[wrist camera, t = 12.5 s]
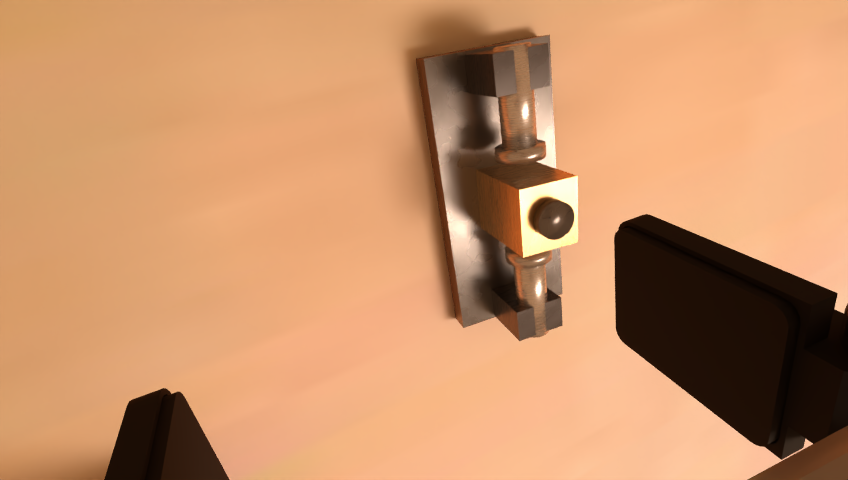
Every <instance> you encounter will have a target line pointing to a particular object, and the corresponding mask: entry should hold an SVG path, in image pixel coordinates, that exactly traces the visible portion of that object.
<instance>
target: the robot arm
mask: <svg viewBox="0 0 848 480" xmlns="http://www.w3.org/2000/svg"><path fill="white" fill-rule="evenodd" d="M614 244H615V302H616V331H617V334H618V336H619V338H620V339H621V340H622V341H623V342H624V343H625V344H626V345H627V346H628V347H630V348H631V349H632V350H634V351H635V352H636V353H637V354H639V355H640V356H641V357H643V358H644V359H645V360H646V361H648V362H649V363H650V364H652V365H653V366H654V367H655V368H657V369H658V370H659V371H661V372H662V373H663V374H664V375H666V376H667V377H668V378H670V379H671V380H672V381H673V382H675V383H676V384H677V385H678V386H680V387H681V388H682V389H684V390H685V391H686V392H687V393H689V394H690V395H691V396H693V397H694V398H695V399H696V400H698V401H699V402H700V403H702V404H703V405H704V406H705V407H707V408H708V409H709V410H711V411H712V412H713V413H714V414H716V415H717V416H718V417H720V418H721V419H722V420H723V421H725V422H726V423H727V424H729V425H730V426H731V427H732V428H734V429H735V430H736V431H738V432H739V433H740V434H741V435H743V436H744V437H745V438H747V439H748V440H749V441H750V442H752V443H754V444H755V445H758V446H764V447H766V448H767V449H768V450H770V451H771V452H772V453H773V454H775V455H776V456H777V457H779V458H780V459H781V460H782V459H784V458H785V457H787V456H789V455H791V454H793V453H794V452H796V451H798V450H800V449H802V448H803V446H804V442H805V438H806V439H807V440H809V441H810V442H812V443H813V445H811V446H809V447H807V448H805V449H803V450H802V451H800V452H798V453H796V454H794V455H792V456H790V457H789V458H787V459H785V460H783V461H781V462H779V463H778V464H776V465H774V466H772V467H770V468H768V469H766V470H765V471H763V472H761V473H759V474H757V475H755V476H753V477H752V478H750V479H748V480H848V304H847V306H846V308H845V312H844V314H843V313H841V312H839V311H837V310H834V307H835V303H836V298H837V294H838V293H836V292H833V291H831V290H828V289H826V288H824V287H821V286H819V285H816V284H814V283H812V282H809V281H807V280H804V279H802V278H800V277H797V276H795V275H793V274H790V273H788V272H785V271H783V270H781V269H778V268H776V267H773V266H771V265H769V264H766V263H764V262H761V261H759V260H757V259H754V258H752V257H749V256H747V255H745V254H742V253H740V252H738V251H735V250H733V249H730V248H728V247H726V246H723V245H721V244H718V243H716V242H714V241H711V240H709V239H706V238H704V237H702V236H699V235H697V234H694V233H692V232H690V231H687V230H685V229H682V228H680V227H678V226H675V225H673V224H671V223H668V222H666V221H663V220H661V219H659V218H656V217H654V216H651V215H647V214H646V215H642V216H639V217H636V218H633V219H630V220H628V221H625V222H623V223H622V224H620V227H619V230H618V231H617V232H616V234H615V238H614ZM104 480H229V478H228V476H227V474H226V473H225V471H224V469H223V467H222V465H221V463H220V461H219V460H218V458H217V456H216V454H215V452H214V450H213V449H212V447H211V445H210V443H209V441H208V439H207V438H206V436H205V434H204V432H203V430H202V428H201V426H200V425H199V423H198V421H197V419H196V417H195V415H194V414H193V412H192V410H191V408H190V406H189V404H188V403H187V401H186V399H185V397H184V396H183V394H182V393H181V392H176V393H173V394H171V393H170V391H168V390H167V389H165V388H163V389H160V390H158V391H155V392H152V393H149V394H147V395H144V396H141V397H138V398H136V399H133V400H131V401H129V403H128V405H127V408H126V411H125V414H124V418H123V421H122V424H121V427H120V431H119V434H118V437H117V440H116V444H115V447H114V450H113V453H112V457H111V460H110V463H109V466H108V470H107V473H106V476H105V479H104Z"/></svg>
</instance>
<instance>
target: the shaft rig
mask: <svg viewBox="0 0 848 480" xmlns="http://www.w3.org/2000/svg"><path fill="white" fill-rule="evenodd" d="M416 62H417V68H418V75H419V81H420V88H421V94H422V101H423V107H424V114H425V120H426V127H427V133H428V140H429V146H430V153H431V159H432V166H433V172H434V179H435V185H436V191H437V198H438V204H439V211H440V217H441V224H442V230H443V237H444V243H445V250H446V256H447V263H448V269H449V276H450V282H451V289H452V295H453V302H454V308H455V315H456V319H457V320H458V322H459V323H460V324H461V325H462V327H463V328H465V327H467V326H470V325H473V324H476V323H479V322H482V321H485V320H488V319H491V318H494V317H497V319H498V320H499V321H500V322H501V323H502V324H503V325H504V326H505V327H506V328H507V329H508V330H509V331H510V332H511V333H512V334H513V335H514V336H515V337H516V338H517V339H518V340H519V341H521V340H524V339H526V338H529V337H541V336H543V335H545V334H547V333H548V331H549V330H551V329H554V328H557V327H559V326H562V307H561V297H560V296H558V295H560V294H562V277H561V257H560V247H559V248H555V249H552V250H548V251H545V252H541V253H538V254H534V255H531V256H527V257H524V258H523V257H521V256H520V255H519V254H517V253H516V252H514V251H513V250H512V249H510V248H509V247H507V246H506V245H504V244H503V243H502V242H500V241H499V240H497V239H496V238H495V237H493V236H492V235H490V234H489V233H487V232H486V231H485V230H483V229H482V228H481V221H480V210H479V199H478V188H477V177H476V170H477V169H482V168H486V167H490V166H495V165H499V164H502V165H523V164H529V163H534V162H538V163H541V164H544V165H547V166H550V167H553V168H556V156H555V135H554V115H553V95H552V75H551V54H550V35H545V36H536V37H530V38H525V39H520V40H514V41H509V42H504V43H498V44H493V45H488V46H482V47H477V48H472V49H466V50H461V51H456V52H450V53H445V54H440V55H434V56H429V57H424V58H418V59H416Z"/></svg>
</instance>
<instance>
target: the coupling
mask: <svg viewBox="0 0 848 480" xmlns="http://www.w3.org/2000/svg"><path fill="white" fill-rule="evenodd" d="M476 177H477V188H478V199H479V210H480V221H481V228H482V229H483V230H485V231H486V232H487V233H489V234H490V235H492V236H493V237H495V238H496V239H497V240H499V241H500V242H502V243H503V244H504V245H506V246H507V247H509V248H510V249H512V250H513V251H514V252H516V253H517V254H519V255H520V256H521V257H523V258H524V257H527V256H531V255H534V254H538V253H541V252H545V251H548V250H552V249H555V248H559V247H562V246H566V245H569V244H573V243H576V242H578V176H576V175H573V174H570V173H567V172H564V171H562V170H559V169H556V168H553V167H550V166H547V165H544V164H541V163H538V162H534V163H529V164H523V165H502V164H499V165H495V166H490V167H486V168H482V169H477V170H476Z"/></svg>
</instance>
